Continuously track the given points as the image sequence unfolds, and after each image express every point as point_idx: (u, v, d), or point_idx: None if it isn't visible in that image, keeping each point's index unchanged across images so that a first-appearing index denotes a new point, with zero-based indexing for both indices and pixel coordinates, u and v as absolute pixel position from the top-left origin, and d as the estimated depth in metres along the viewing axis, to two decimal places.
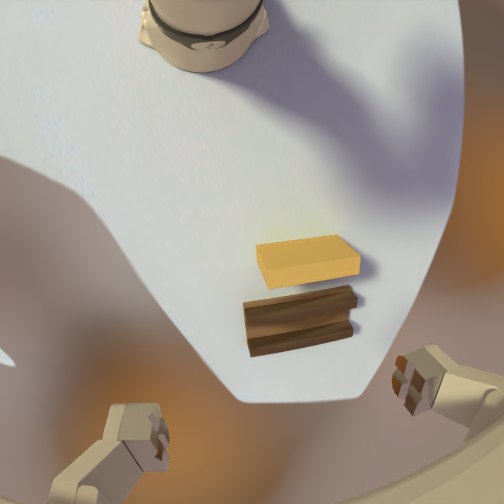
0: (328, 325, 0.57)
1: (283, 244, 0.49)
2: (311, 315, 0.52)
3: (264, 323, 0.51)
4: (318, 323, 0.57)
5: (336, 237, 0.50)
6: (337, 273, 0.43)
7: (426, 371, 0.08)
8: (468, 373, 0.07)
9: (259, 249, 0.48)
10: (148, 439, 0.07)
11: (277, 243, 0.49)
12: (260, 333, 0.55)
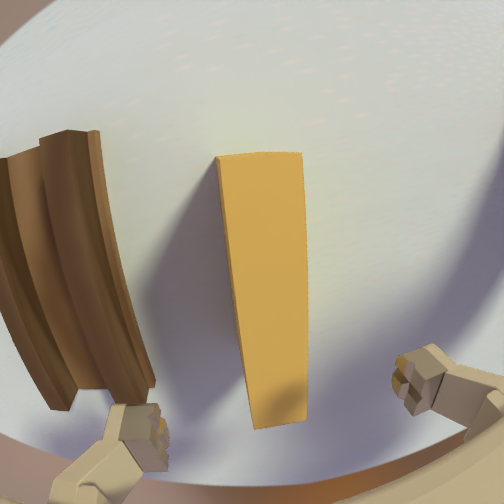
0: (58, 353, 0.20)
1: None
2: (82, 317, 0.17)
3: (49, 186, 0.14)
4: (57, 331, 0.20)
5: None
6: (262, 383, 0.14)
7: (426, 371, 0.08)
8: (467, 373, 0.07)
9: None
10: (148, 439, 0.07)
11: None
12: (20, 189, 0.16)
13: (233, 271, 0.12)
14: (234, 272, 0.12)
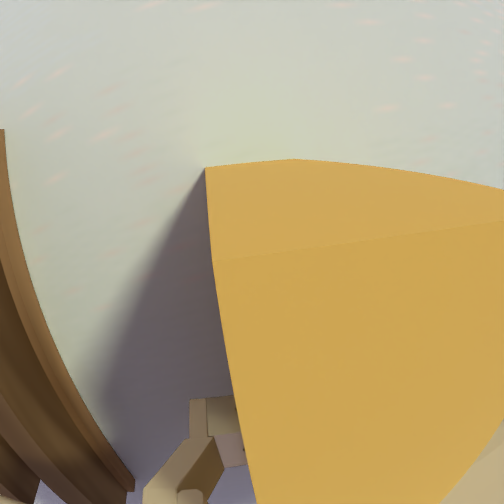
0: (5, 446, 0.11)
1: None
2: (8, 439, 0.07)
3: None
4: None
5: None
6: None
7: None
8: None
9: None
10: None
11: None
12: None
13: None
14: None
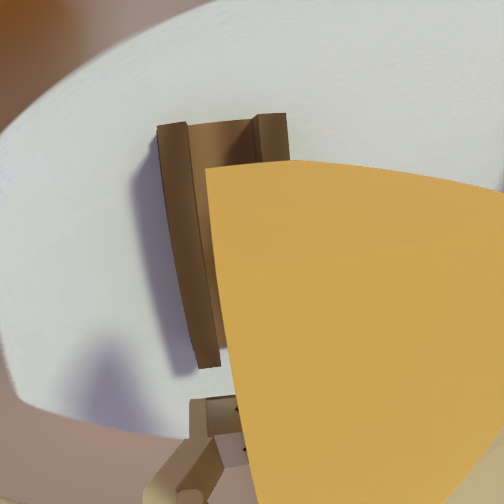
0: (212, 311, 0.27)
1: None
2: None
3: (266, 154, 0.21)
4: (216, 288, 0.27)
5: None
6: None
7: None
8: None
9: None
10: (242, 431, 0.07)
11: None
12: (202, 156, 0.23)
13: None
14: None
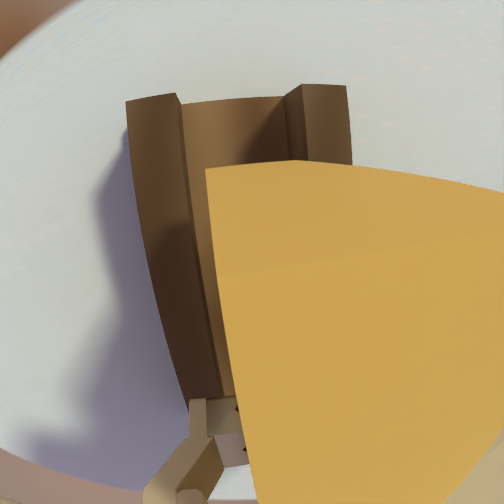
0: (221, 380, 0.18)
1: None
2: None
3: (316, 152, 0.12)
4: (227, 351, 0.18)
5: None
6: None
7: None
8: None
9: None
10: (242, 431, 0.07)
11: None
12: (204, 153, 0.14)
13: None
14: None
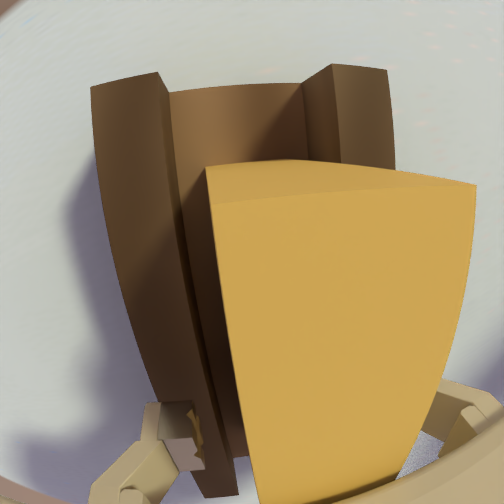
0: (223, 424, 0.14)
1: None
2: None
3: (351, 155, 0.09)
4: (229, 393, 0.14)
5: None
6: None
7: None
8: (442, 385, 0.07)
9: None
10: (190, 437, 0.07)
11: None
12: (199, 156, 0.11)
13: (258, 481, 0.04)
14: (260, 482, 0.04)
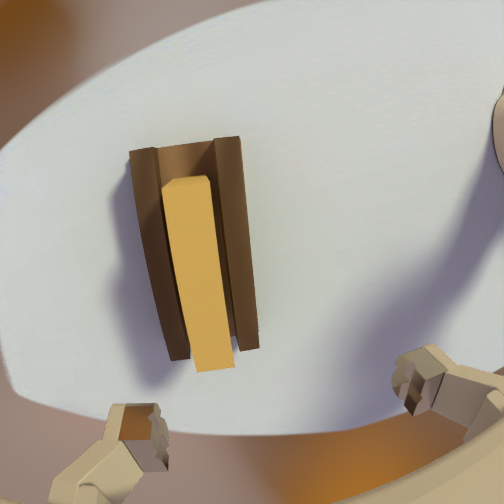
0: (182, 310, 0.30)
1: None
2: (232, 268, 0.27)
3: (222, 173, 0.24)
4: None
5: None
6: (197, 332, 0.21)
7: (426, 371, 0.08)
8: (468, 373, 0.07)
9: None
10: (148, 439, 0.07)
11: None
12: (170, 174, 0.26)
13: (172, 254, 0.19)
14: (173, 254, 0.19)
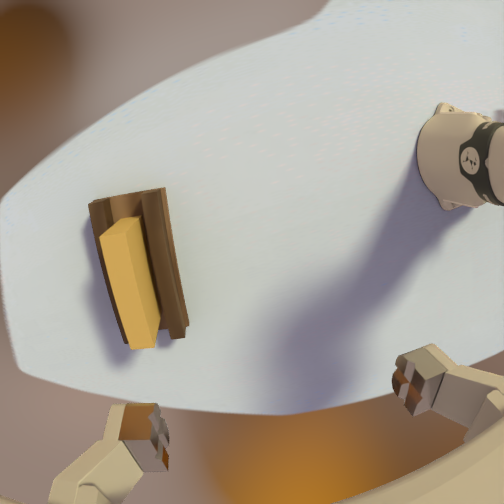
0: None
1: (146, 249, 0.38)
2: (159, 281, 0.38)
3: (147, 217, 0.35)
4: None
5: (159, 312, 0.41)
6: (128, 323, 0.32)
7: (426, 371, 0.08)
8: (467, 373, 0.07)
9: (139, 220, 0.36)
10: (148, 439, 0.07)
11: (145, 241, 0.38)
12: (118, 216, 0.37)
13: (108, 275, 0.30)
14: (109, 275, 0.30)
